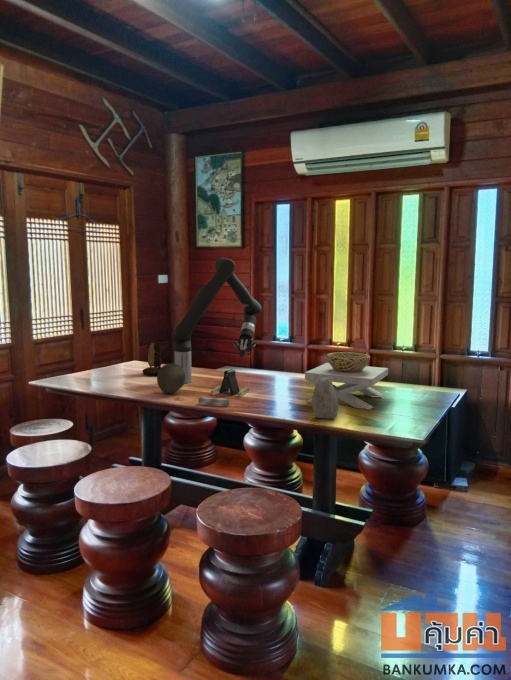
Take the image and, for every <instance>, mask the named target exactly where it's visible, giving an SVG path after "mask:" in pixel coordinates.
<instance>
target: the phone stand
mask: <svg viewBox="0 0 511 680" xmlns="http://www.w3.org/2000/svg"><path fill="white" fill-rule="evenodd" d="M220 385H221V388H220V391H219V392H218V393H221V394H220V395H227V396H232V395H234V396H236V394H237V395H238V392H240V391H241V390H240V387H239V383H238V380H237V376H236V370H235V369H231V368H230V369H227V370H224V372H223V379H222V382H221V384H220Z"/></svg>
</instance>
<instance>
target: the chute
mask: <svg viewBox="0 0 511 680" xmlns="http://www.w3.org/2000/svg"><path fill="white" fill-rule="evenodd" d="M221 385H222V384H220V385H217V386H216V387H214V388H213V389H211V390H210V396H215V394H216V395H217V394H218V393H219V391H220V388H221ZM248 391H249V392H250V387H249V386H246V387H244V388H242V389H241V390H240V392H238V394H237V397H239V398H243V397H244V396H245V395H246V394H248V393H249V392H248ZM243 395H244V396H243ZM198 405H200V406H201V405H202V406H215V407H229V406H230V398H218V397H205V396H202V397H201V396H200V397H198Z"/></svg>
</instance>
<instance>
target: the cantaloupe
mask: <svg viewBox="0 0 511 680" xmlns="http://www.w3.org/2000/svg"><path fill="white" fill-rule="evenodd" d="M156 376H157V377H156V383H157V386H158V388H159V389H160V390H161V392H162V393H165V394H174V393H176V392H178V391H179V390H181V389H182V388H183V386H184V385H185V384H186V383H185V379H186V375H185V372H184V370H183V368H182V367H181V366H179V365H178V364H175V362H172V363H171V362H169V363H165V364H164V365H161V369H160V370H159V372H158V374H156Z"/></svg>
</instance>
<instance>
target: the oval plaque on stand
mask: <svg viewBox="0 0 511 680" xmlns="http://www.w3.org/2000/svg"><path fill="white" fill-rule="evenodd" d="M147 348H148V352H147V353H148V354H147V364H148V366H149V367H146V368H143V370H142V374H143V375H151V377H152V376H153V377H154V375H158V372H159V370H160V369H161V367H162V366H163V365H162V364H163V359H162V358H161V357H162V353H161V352H162V351H161V350H162V348H163V344H162V342H160V341H154V340H149V341H148V343H147Z"/></svg>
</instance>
